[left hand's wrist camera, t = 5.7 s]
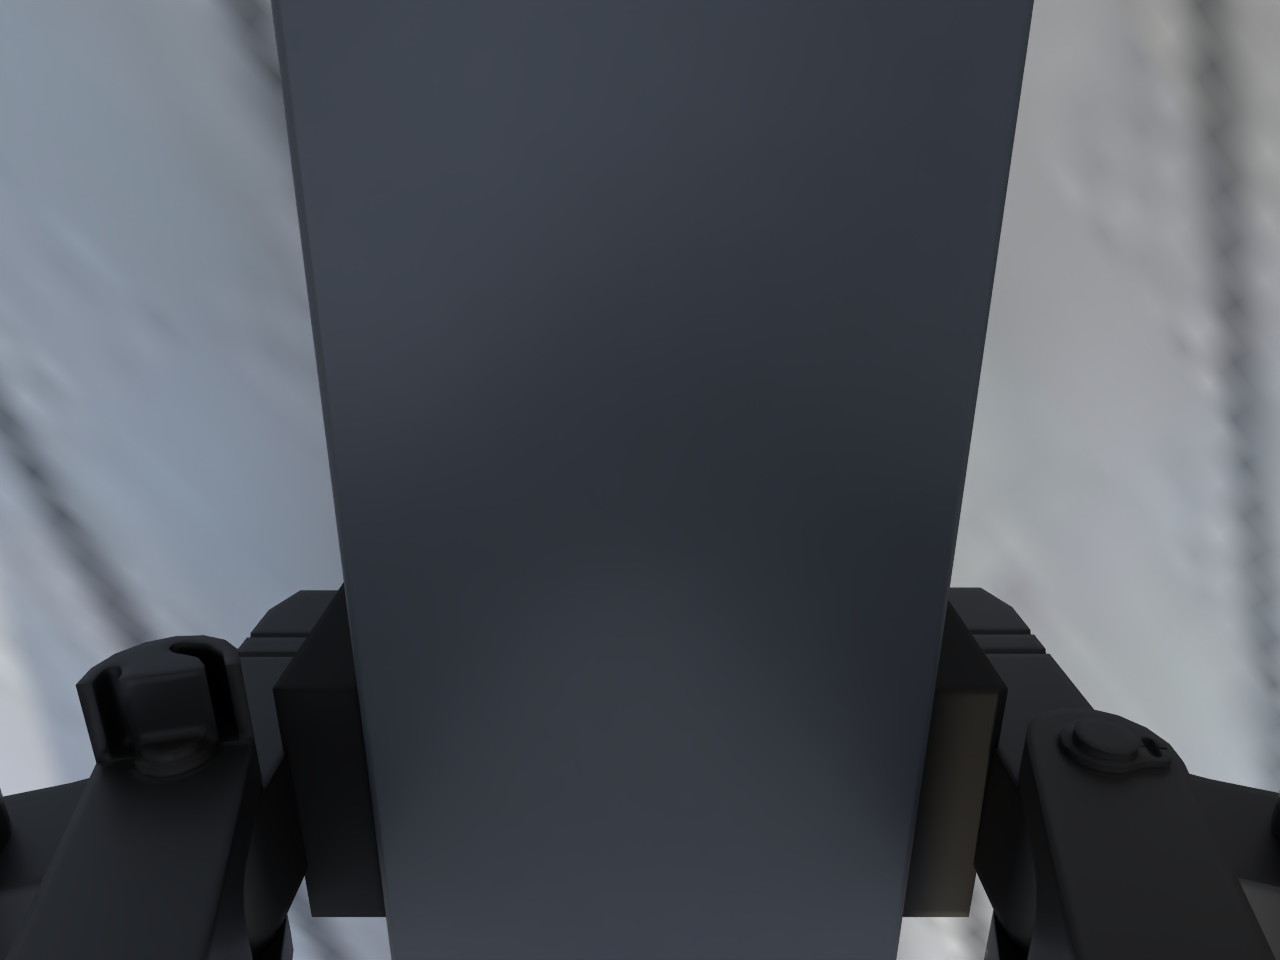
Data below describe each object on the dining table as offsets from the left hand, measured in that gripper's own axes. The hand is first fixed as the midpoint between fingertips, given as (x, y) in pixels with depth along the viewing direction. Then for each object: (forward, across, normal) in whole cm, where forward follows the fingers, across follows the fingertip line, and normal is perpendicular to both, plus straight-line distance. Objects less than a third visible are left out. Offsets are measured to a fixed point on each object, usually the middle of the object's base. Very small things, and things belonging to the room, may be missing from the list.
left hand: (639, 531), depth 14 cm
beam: (+1, 0, -24) cm, 24 cm away
